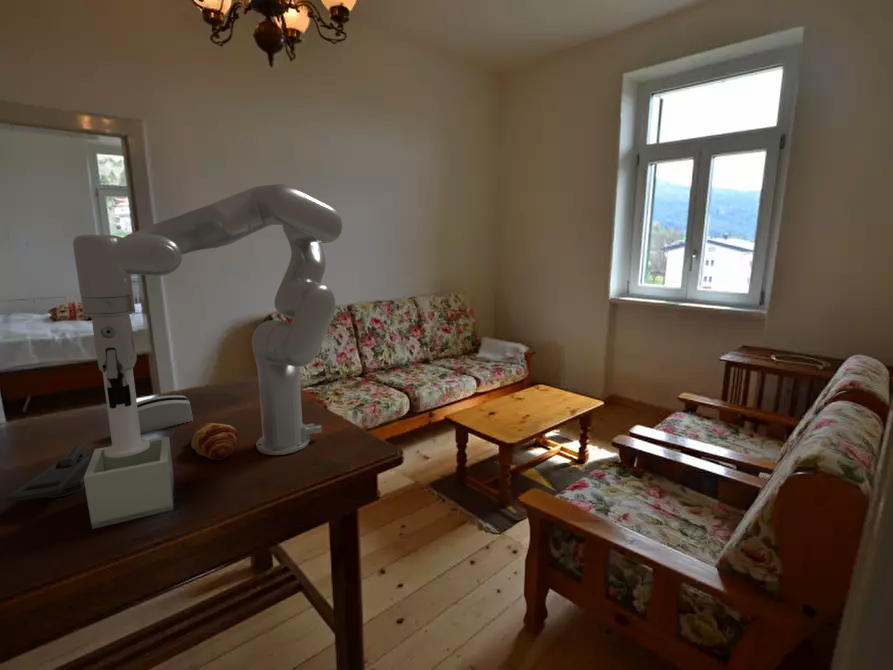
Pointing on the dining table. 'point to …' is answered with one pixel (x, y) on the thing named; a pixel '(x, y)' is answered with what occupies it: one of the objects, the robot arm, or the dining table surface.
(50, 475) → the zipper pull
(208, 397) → the dining table surface
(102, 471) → the open square box
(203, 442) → the croissant
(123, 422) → the candle
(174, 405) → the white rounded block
